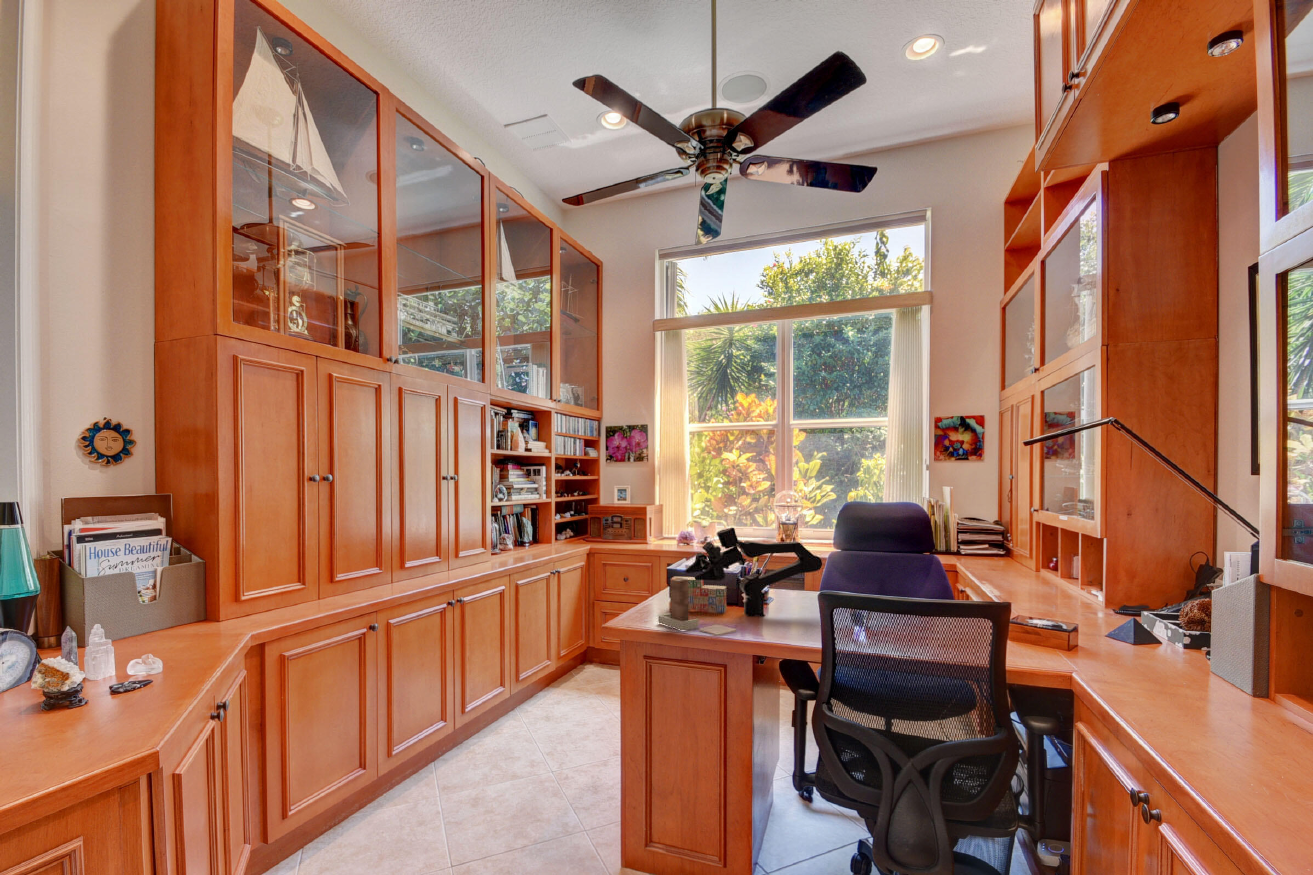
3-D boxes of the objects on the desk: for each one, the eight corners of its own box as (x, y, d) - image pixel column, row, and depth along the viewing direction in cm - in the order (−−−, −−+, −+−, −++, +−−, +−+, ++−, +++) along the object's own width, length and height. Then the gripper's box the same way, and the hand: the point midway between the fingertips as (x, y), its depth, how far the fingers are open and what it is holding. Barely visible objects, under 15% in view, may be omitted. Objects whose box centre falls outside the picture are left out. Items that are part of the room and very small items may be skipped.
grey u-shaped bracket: (674, 620, 207) (674, 612, 207) (698, 627, 197) (698, 618, 197) (658, 624, 202) (658, 615, 202) (682, 631, 192) (682, 622, 192)
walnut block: (680, 623, 203) (679, 577, 204) (688, 625, 199) (688, 579, 201) (670, 625, 200) (670, 579, 201) (679, 628, 197) (678, 580, 198)
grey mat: (717, 626, 199) (717, 624, 199) (736, 631, 192) (736, 629, 192) (698, 630, 193) (698, 628, 193) (717, 636, 186) (717, 634, 186)
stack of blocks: (727, 610, 224) (726, 578, 225) (724, 613, 218) (723, 581, 219) (674, 606, 230) (674, 575, 231) (670, 610, 224) (670, 578, 225)
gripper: (710, 534, 223) (674, 549, 218) (731, 544, 205) (693, 561, 201) (718, 560, 224) (683, 575, 220) (740, 572, 207) (702, 590, 202)
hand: (690, 575), depth 211 cm, fingers open, 9 cm apart
